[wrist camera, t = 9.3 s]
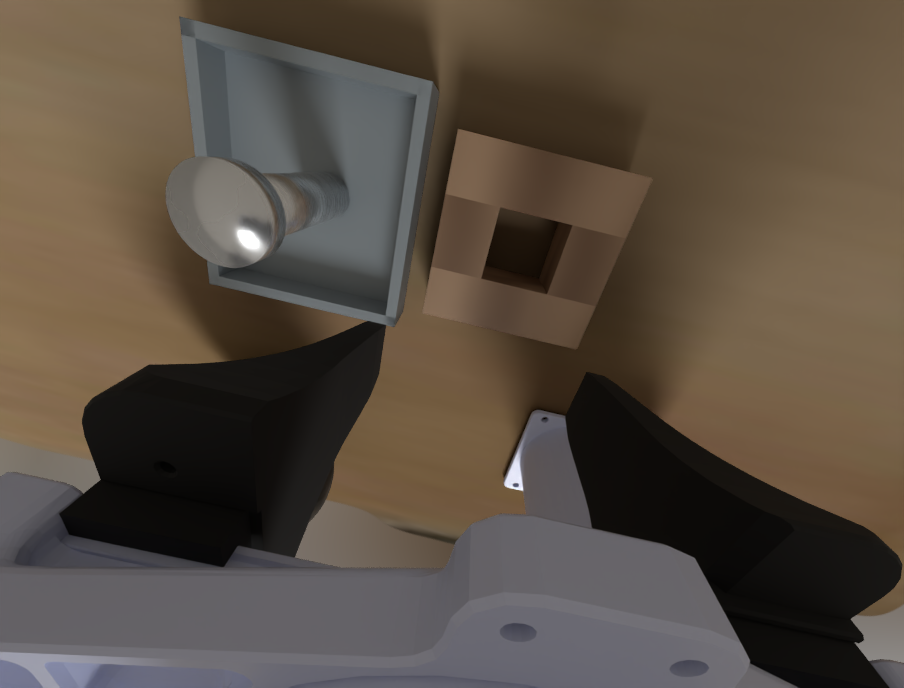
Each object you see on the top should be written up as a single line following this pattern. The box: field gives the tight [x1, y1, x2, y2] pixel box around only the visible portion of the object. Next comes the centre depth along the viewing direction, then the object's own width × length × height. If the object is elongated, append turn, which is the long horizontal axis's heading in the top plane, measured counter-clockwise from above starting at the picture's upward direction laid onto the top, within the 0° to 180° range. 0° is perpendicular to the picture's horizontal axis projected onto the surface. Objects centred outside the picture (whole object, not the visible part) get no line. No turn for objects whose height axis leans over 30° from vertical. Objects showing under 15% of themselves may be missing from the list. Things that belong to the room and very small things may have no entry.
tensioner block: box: [422, 129, 653, 350], centre depth 19 cm, size 9×9×3 cm
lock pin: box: [166, 156, 350, 268], centre depth 15 cm, size 3×3×9 cm
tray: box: [179, 16, 439, 327], centre depth 19 cm, size 11×12×2 cm
